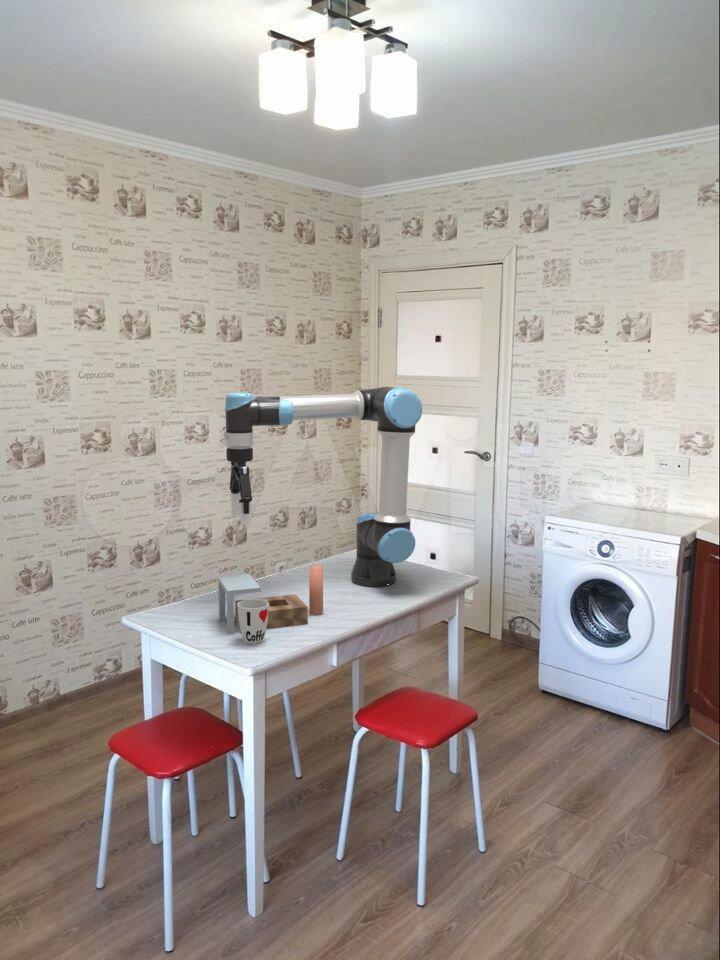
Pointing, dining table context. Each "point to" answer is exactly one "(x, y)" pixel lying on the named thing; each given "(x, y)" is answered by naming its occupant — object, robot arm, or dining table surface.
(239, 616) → the cup
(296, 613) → the socket block
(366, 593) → the dining table surface
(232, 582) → the grey-blue stool
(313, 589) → the dowel
